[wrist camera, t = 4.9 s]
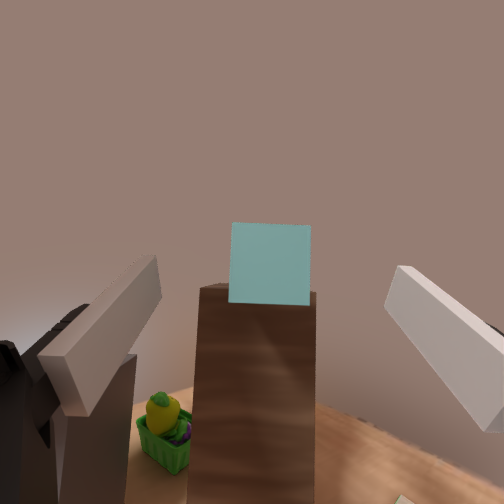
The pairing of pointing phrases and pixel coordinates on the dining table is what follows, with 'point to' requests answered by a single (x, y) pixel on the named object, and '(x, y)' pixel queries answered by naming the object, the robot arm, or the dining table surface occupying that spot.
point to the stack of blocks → (403, 500)
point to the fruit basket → (166, 432)
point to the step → (97, 444)
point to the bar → (270, 264)
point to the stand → (253, 402)
